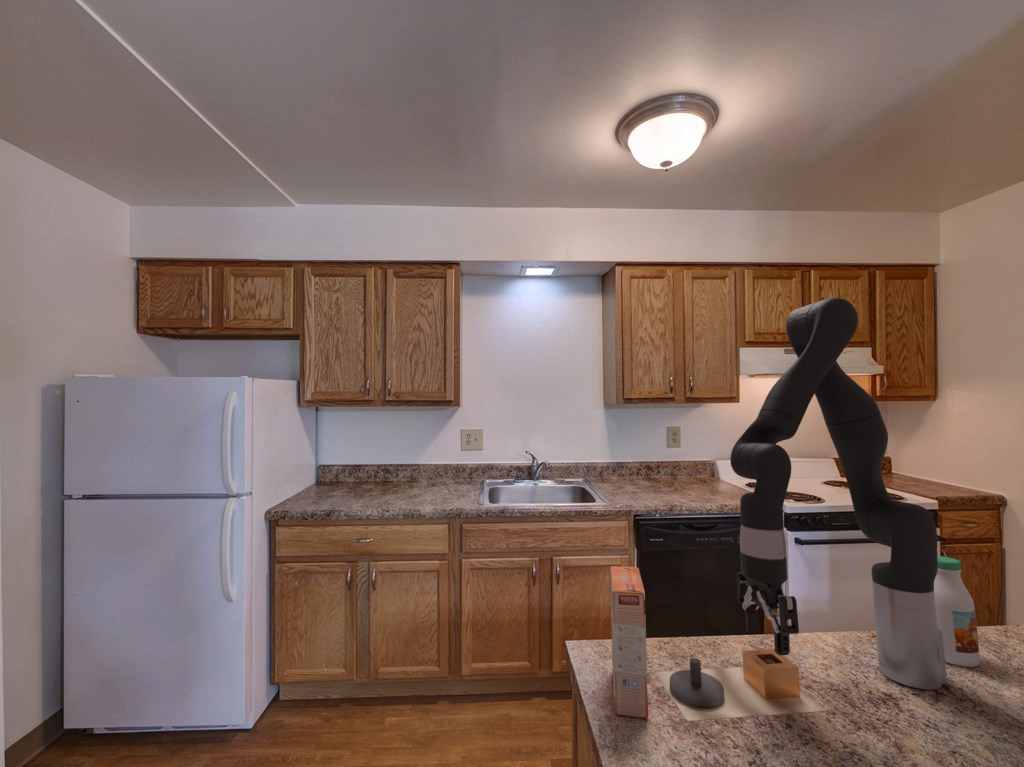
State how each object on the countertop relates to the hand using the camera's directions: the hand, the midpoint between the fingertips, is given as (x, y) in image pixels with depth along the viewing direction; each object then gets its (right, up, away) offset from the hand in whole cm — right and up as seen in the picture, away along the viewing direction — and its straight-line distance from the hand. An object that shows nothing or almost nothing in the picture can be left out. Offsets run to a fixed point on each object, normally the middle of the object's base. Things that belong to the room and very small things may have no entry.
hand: (766, 642), depth 83 cm
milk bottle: (+45, -10, +11) cm, 47 cm away
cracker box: (-25, -10, +1) cm, 27 cm away
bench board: (-6, -9, -1) cm, 12 cm away
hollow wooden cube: (+1, -8, -1) cm, 8 cm away
